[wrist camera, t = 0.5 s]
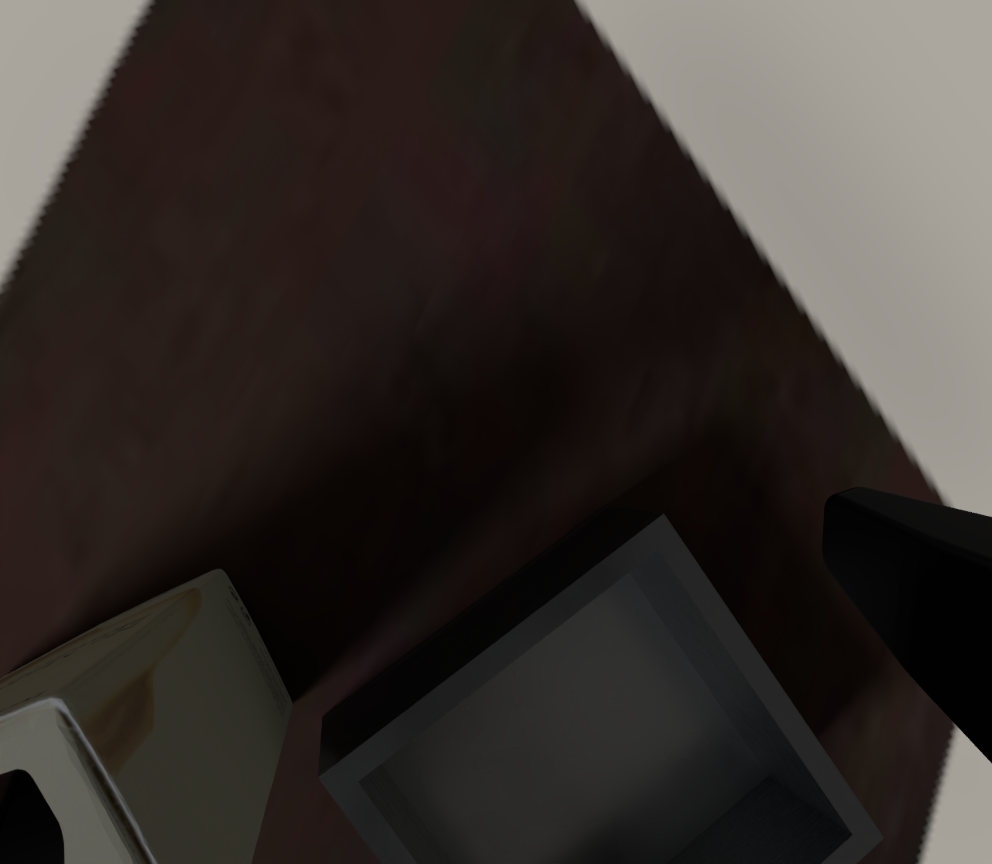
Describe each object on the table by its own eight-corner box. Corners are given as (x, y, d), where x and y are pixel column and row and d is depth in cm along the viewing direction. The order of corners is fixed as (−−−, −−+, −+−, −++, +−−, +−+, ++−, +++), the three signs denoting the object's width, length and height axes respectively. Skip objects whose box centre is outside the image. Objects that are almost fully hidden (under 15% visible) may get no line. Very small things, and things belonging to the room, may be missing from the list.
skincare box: (223, 561, 22) (84, 666, 10) (299, 706, 22) (251, 983, 10) (-19, 684, 21) (-513, 973, 9) (63, 837, 21) (-312, 1329, 9)
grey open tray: (785, 772, 24) (884, 838, 20) (525, 998, 23) (570, 1124, 18) (603, 506, 24) (664, 513, 19) (322, 716, 22) (317, 777, 18)
